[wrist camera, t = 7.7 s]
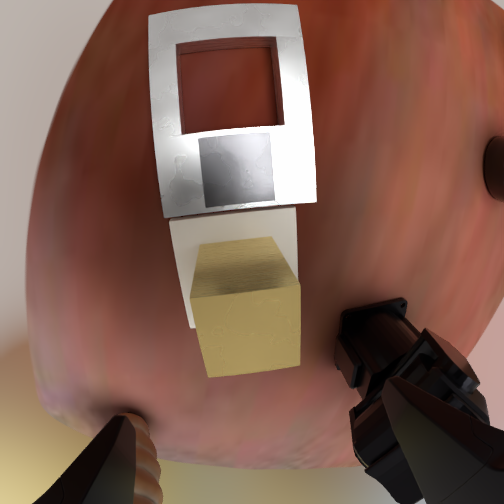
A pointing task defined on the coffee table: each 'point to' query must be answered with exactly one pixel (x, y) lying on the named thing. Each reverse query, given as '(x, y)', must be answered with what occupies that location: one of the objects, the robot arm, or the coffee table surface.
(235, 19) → the white flat frame
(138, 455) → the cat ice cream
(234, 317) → the brass metal cube
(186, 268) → the coaster
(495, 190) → the supplement bottle
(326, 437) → the coffee table surface
